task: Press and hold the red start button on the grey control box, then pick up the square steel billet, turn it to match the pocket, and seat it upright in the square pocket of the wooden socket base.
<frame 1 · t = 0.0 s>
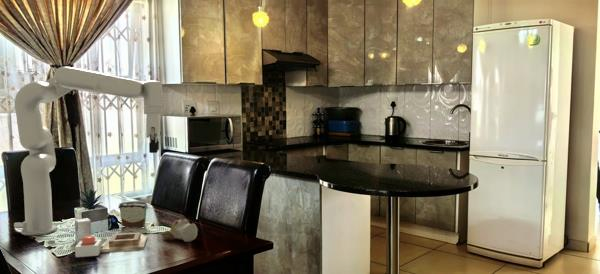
hand: (154, 151, 196), 31 cm above the table, fingers open, 9 cm apart
steel billet: (83, 241, 175), on the table
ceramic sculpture: (182, 239, 178), on the table
button box: (88, 253, 161), on the table
start button: (88, 240, 161), point 5 cm above the table, slide at 0.0 cm
wooden socket base: (125, 244, 170), on the table
food container: (136, 226, 197), on the table
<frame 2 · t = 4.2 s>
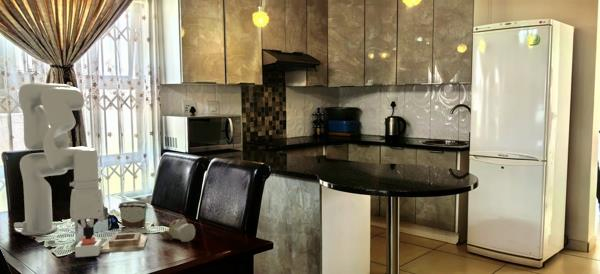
hand: (88, 237, 160), 5 cm above the table, fingers closed
start button: (88, 240, 161), point 4 cm above the table, slide at 0.1 cm, touching gripper
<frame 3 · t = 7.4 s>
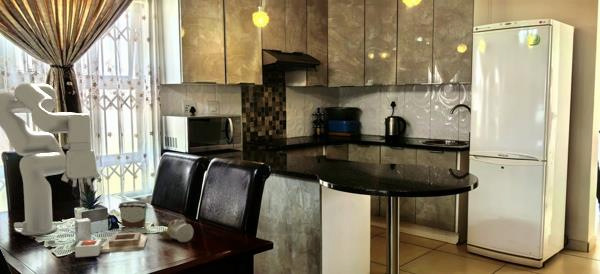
hand: (81, 195, 174), 17 cm above the table, fingers open, 3 cm apart
start button: (88, 244, 161), point 3 cm above the table, slide at 1.4 cm
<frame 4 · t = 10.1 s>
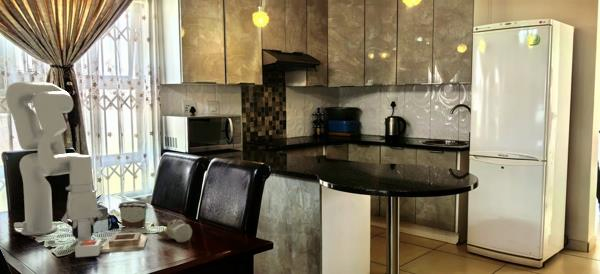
hand: (83, 236, 175), 2 cm above the table, fingers closed on steel billet, 4 cm apart
steel billet: (83, 241, 175), on the table, touching gripper
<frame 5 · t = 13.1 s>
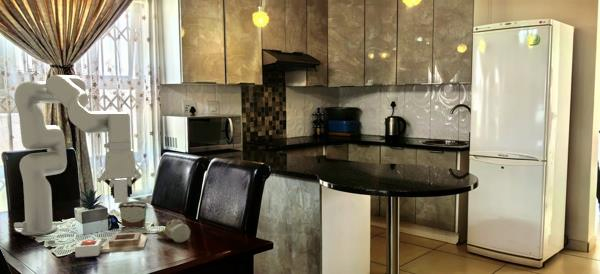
hand: (121, 196, 169), 18 cm above the table, fingers closed on steel billet, 4 cm apart
steel billet: (121, 201, 169), point 16 cm above the table, touching gripper
when the fingers open (4 cm above the table, at t = 16.1 s): steel billet drops 1 cm, resting on wooden socket base.
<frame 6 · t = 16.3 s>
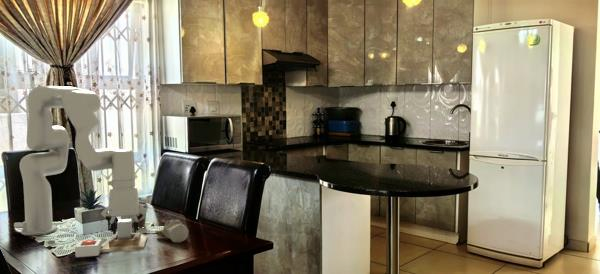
hand: (125, 232, 170), 5 cm above the table, fingers open, 6 cm apart
steel billet: (125, 242, 170), point 1 cm above the table, touching wooden socket base
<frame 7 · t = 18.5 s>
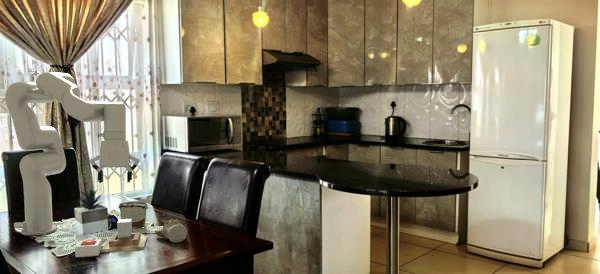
hand: (115, 182, 174), 22 cm above the table, fingers open, 9 cm apart
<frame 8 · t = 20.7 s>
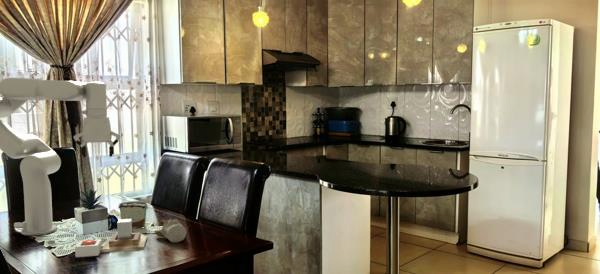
hand: (98, 156, 186), 30 cm above the table, fingers open, 9 cm apart
at the end: start button slide at 1.4 cm; steel billet 0.1 cm off-centre on the wooden socket base, point 1.0 cm above the wooden socket base's base; steel billet tilted 0° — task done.
